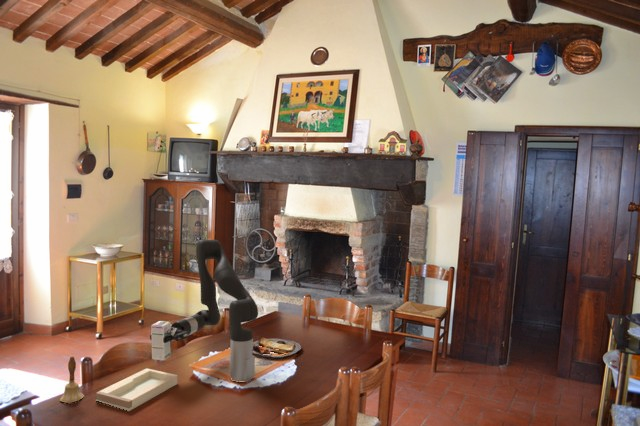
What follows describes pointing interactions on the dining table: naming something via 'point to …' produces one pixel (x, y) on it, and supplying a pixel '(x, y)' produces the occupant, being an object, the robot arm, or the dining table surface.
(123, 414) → the dining table surface
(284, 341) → the food plate
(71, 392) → the hand bell
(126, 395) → the tray
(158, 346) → the syrup box
